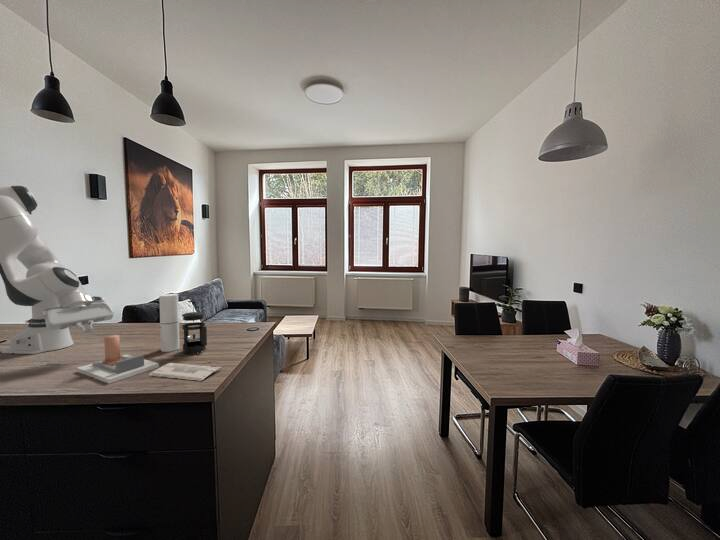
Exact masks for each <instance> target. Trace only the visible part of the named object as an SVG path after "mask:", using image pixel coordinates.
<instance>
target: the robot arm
mask: <svg viewBox="0 0 720 540" xmlns="http://www.w3.org/2000/svg"><path fill="white" fill-rule="evenodd" d="M36 208H38V199H37V197H36V195H35V194H34V193H33V192H32V191H31V190H30V189H28V188H27V187H25V186H23V185H11V186H4V187H0V278H1V279H2V282H3V284H4V289H5V292H6V296H7V297H8V299H9V300H10V301H11V302H12V303H13V304H14V305H17V306H23V307H31V318H30V319H28V320H26V321H25V324H27V327H26V328H24V329H23V330H21V331H20V332H18V333H16V334H15V335H14V336H12V337H11V339H10V342H9V346H8V347H7V348H4V349H2V350H1V354H12V353H14V354H17V355H19V354H20V355H21V354H22V355H24V354H25V355H35V354H41V353H45V352H50V351H56V350H60V349H64V348H65V349H66V348H68V347H71V346H74V344H75V343H74V341H73V337H72V336H71V332H70V328H71V327H75V328H76V329H78V330H80V331H81V332H82V334H85V333H90V332H91V333H92V332H94V328H93V324H94V323H100V322H104V321H111V320H112V319H113V317H114V315H115V311H114V310H113V308H112V306H111V305H110V304H109V303H108V302H106V301H105V297H103V296H97V295H96V296H95V295H88V294H87V293H86V292H85V289H84V287H83V284H82V282H81V281H80V279H79V278H78V277H77V275H76V274H75V273H74V272H73V271H71V270H70V269H68V268H66V267H65V265H64V264H63V263H62V261H61V260H60V259H59V258H58V256H57V255H56V254H55V253H54V252H53V251H52V249H51V248H50V247H49V246H48V244H47V243H46V242H45V240H44V239H43V237H42V236H41V234H40V233H39V229H38V227H37V225H36V223H35V222H34V220H33V218H31V215H32V214H33V213H32V212H33V211H35V210H36ZM17 260H18V261H19V262H20V263H21V264H22V265H23V267H25V268H26V270H27V271H26V273H25V278H23V275H22V273H21V270H20V268H19V267H18V263H17ZM83 325H87V326H83Z"/></svg>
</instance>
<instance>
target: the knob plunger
mask: <svg viewBox="0 0 720 540" xmlns="http://www.w3.org/2000/svg"><path fill="white" fill-rule="evenodd" d="M103 339H104V357H105V358H104V359H103V360H100V361H101V362H102V363H104V364H107V365H110V366H111V365H115V362H117V361H121V360H124V359H123V358H120V356H121V339H120V335H119V334H114V335H113V334H112V335H107V336H105V337H104V338H103Z"/></svg>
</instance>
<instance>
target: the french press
mask: <svg viewBox="0 0 720 540" xmlns="http://www.w3.org/2000/svg"><path fill="white" fill-rule="evenodd" d="M187 302H188V303H192V304H191V305H192V312H186V313H183V314H181V316H182V320H183V321H185V322H188V323H183V324H182V326H181V329H182V330H183V338H182V339H183V343H182V352H181V353H182V354H183V353H184V354H183V355H194V354H193V353H197V352H201V351H203V350H205V349H206V350H207V347H206V346H207V345H208V343H207V342H208V339H207V338H208V336H207V335H208V334H207V333H208V331H207V329H208V328H207V325H206V323H205V322H199V320H203V319H204V318H205V314H206V313H205V312H203V311H195V305H196V304H195V303H197V302H198V303H199V300H198V299H190V300H188V301H187ZM189 321H190V322H189ZM191 321H193V322H191ZM197 321H198V322H197ZM196 330H199V334H197V333H196V334H195V332H193V334H191V335H190V334H189V331H196ZM206 350H205V351H206ZM201 353H202V352H201ZM197 354H198V353H197Z"/></svg>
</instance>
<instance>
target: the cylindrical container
mask: <svg viewBox="0 0 720 540" xmlns="http://www.w3.org/2000/svg"><path fill="white" fill-rule="evenodd" d="M158 298H159V324H160V325H159V327H160V328H159V331H160V351H161V352H163V353H169V352H175V351H177V349H178V350H179V349H180V317H179V315H180V314H179V313H180V311H179V308H180V307H179V294H178V293H166V294H165V293H164V294H159V296H158ZM174 350H175V351H174Z"/></svg>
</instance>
